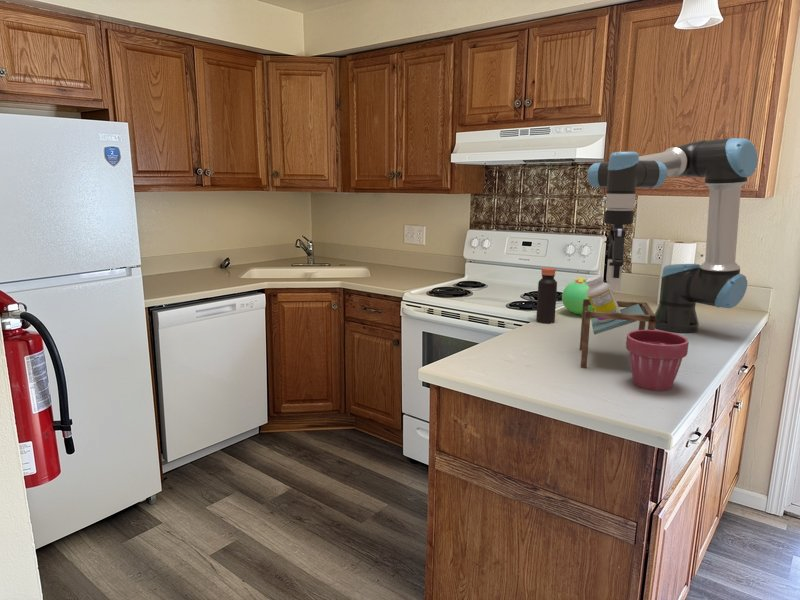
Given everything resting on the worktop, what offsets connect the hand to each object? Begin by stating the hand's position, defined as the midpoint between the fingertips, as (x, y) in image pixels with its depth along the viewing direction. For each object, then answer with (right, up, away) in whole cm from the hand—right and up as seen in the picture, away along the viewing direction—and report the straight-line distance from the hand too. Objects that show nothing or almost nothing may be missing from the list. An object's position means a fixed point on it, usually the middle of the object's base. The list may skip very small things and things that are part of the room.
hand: (612, 285), depth 156 cm
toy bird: (+12, -10, +62) cm, 64 cm away
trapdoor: (+2, -10, +1) cm, 10 cm away
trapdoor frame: (+1, -22, +4) cm, 22 cm away
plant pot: (+4, -26, -15) cm, 30 cm away
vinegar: (-6, -12, +50) cm, 52 cm away
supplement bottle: (0, -10, +2) cm, 10 cm away
